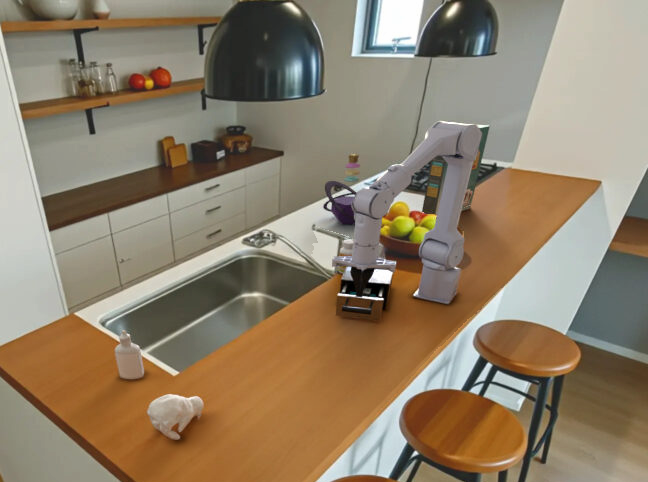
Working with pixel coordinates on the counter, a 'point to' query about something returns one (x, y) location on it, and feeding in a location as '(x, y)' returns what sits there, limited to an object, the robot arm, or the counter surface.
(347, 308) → the drawer
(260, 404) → the counter surface
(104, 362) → the counter surface
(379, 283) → the cabinet
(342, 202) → the decorative bottle
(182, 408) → the white animal figurine
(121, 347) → the eye dropper bottle
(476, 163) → the cake mix box
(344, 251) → the supplement bottle
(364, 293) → the toy car
